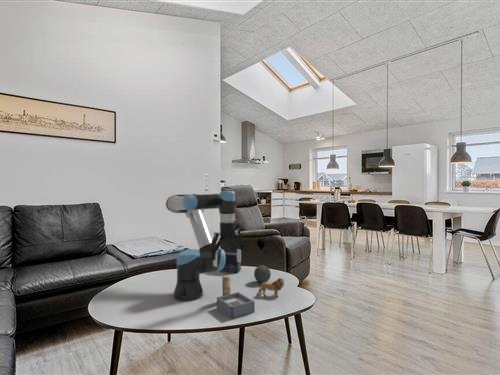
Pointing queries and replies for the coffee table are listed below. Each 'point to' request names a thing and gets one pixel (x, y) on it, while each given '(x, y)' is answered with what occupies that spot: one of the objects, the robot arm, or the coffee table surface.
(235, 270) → the small box
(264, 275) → the decorative ball
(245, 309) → the box
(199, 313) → the coffee table surface
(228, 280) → the peg
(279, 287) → the lion figurine
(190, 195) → the robot arm
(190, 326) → the coffee table surface
